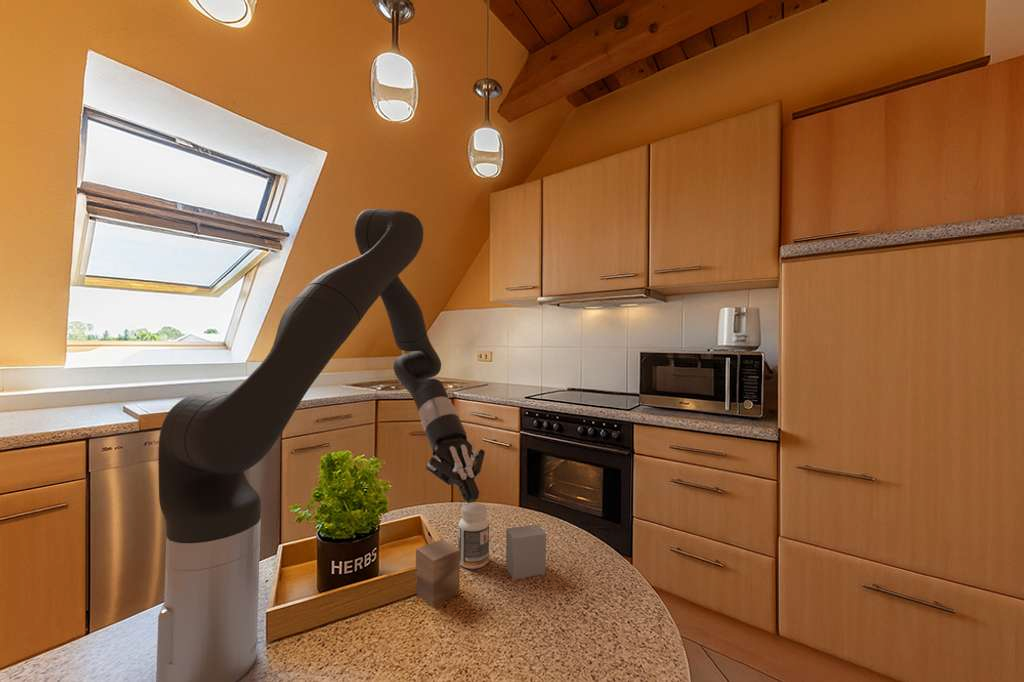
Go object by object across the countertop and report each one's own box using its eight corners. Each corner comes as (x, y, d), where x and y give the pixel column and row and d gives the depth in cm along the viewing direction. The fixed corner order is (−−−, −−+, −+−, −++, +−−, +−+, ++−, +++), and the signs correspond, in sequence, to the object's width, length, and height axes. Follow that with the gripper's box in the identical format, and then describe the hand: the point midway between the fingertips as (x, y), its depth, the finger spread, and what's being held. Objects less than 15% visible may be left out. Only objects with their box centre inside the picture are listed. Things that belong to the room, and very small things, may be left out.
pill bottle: (494, 559, 75) (495, 506, 75) (476, 573, 70) (477, 516, 71) (470, 551, 78) (471, 499, 78) (451, 564, 73) (452, 509, 74)
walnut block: (432, 607, 61) (433, 560, 61) (415, 592, 65) (416, 548, 65) (459, 593, 65) (460, 549, 65) (441, 580, 68) (442, 538, 68)
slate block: (513, 579, 69) (514, 538, 69) (505, 567, 73) (506, 528, 73) (545, 573, 71) (546, 533, 71) (536, 562, 75) (537, 524, 75)
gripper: (419, 415, 78) (450, 497, 68) (475, 410, 86) (510, 482, 77) (406, 438, 82) (434, 519, 72) (461, 431, 90) (493, 502, 81)
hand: (473, 500), depth 74 cm, fingers closed
